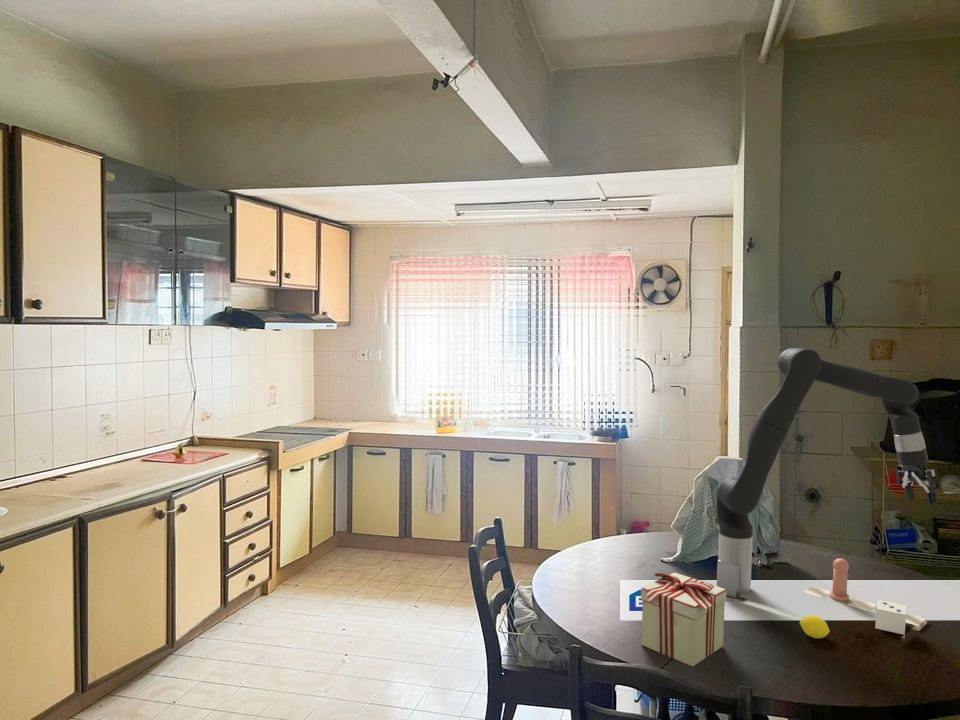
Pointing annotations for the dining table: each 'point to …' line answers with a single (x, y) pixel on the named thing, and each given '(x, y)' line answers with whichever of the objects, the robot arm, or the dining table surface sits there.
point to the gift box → (683, 617)
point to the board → (866, 607)
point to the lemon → (814, 626)
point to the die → (891, 617)
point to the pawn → (840, 580)
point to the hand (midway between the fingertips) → (922, 502)
